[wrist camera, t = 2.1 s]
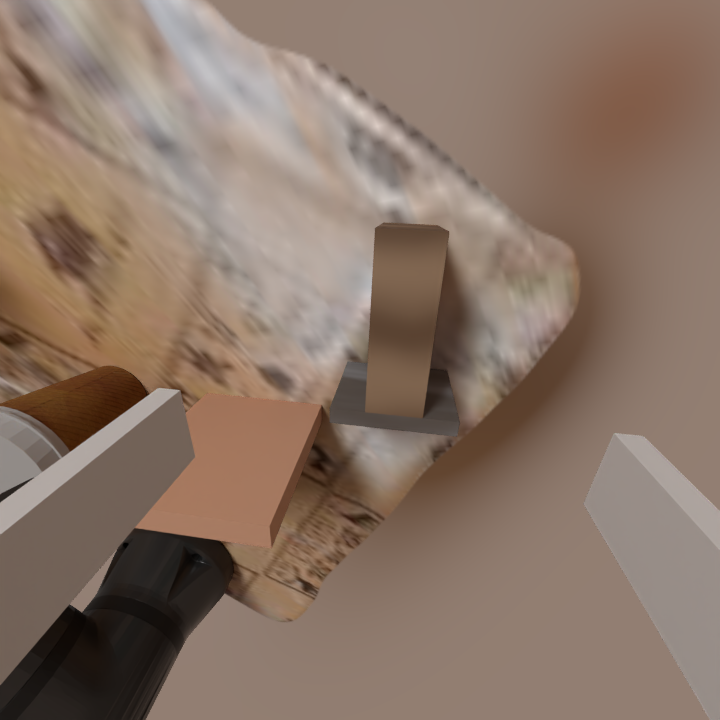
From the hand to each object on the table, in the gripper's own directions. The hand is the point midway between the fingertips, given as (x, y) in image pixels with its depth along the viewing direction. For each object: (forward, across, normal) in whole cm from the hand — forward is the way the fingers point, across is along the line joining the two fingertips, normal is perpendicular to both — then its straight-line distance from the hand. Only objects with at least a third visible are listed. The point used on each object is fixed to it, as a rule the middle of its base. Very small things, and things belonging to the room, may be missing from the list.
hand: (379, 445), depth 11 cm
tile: (+19, +13, +12) cm, 26 cm away
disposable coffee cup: (+19, +29, +12) cm, 36 cm away
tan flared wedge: (+19, 0, +1) cm, 19 cm away
